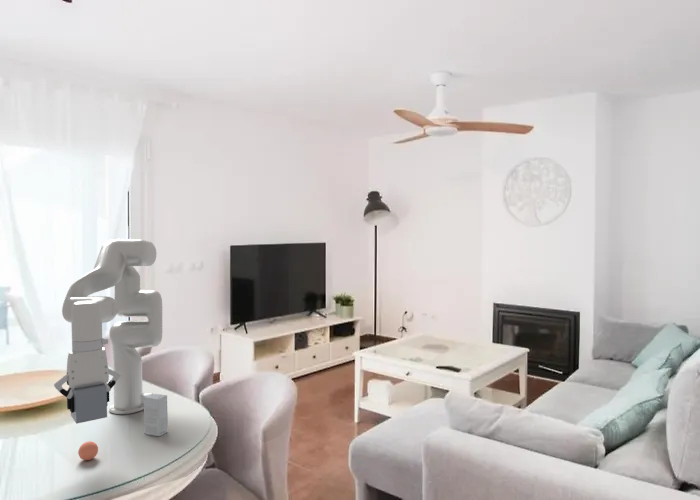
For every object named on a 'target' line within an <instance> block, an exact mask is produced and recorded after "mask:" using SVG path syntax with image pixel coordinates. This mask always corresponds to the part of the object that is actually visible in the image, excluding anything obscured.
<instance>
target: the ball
mask: <svg viewBox="0 0 700 500" xmlns="http://www.w3.org/2000/svg"><path fill="white" fill-rule="evenodd" d="M77 451H78V453H77V454H78V457H79V458H80V459H81V460H84V461H90V460H93V459H94V458H96V457H97V455H98V453H99V446H98V444H97V443H96V442H94V441H92V440H91V441H90V440H89V441H85V442H83V443H82V444H81V445H80V447H79V448H78V450H77Z"/></svg>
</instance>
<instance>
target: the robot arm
mask: <svg viewBox="0 0 700 500" xmlns="http://www.w3.org/2000/svg"><path fill="white" fill-rule="evenodd" d="M156 259H157V249H156V246H155V244H154V243H153V242H151V241H147V240H145V239H135V238H134V239H133V238H132V239H131V238H129V239H127V238H126V239H124V238H122V239H120V238H117V239H109V240H107V241H105V242H103V244H102V245H101V248H100V249H99V253H98V256H97V259H96V261H95V264H94V266H93V270H91V271H89V272H87V273H85V274H84V275H82V276H81V277H80V278H79V279H77V280H75V281H74V282H73V283H72V284H71V285H70V287H69V289H68V291H67V293H66V295H65V298H64V301H63V304H62V307H61V315H62V317H63V319H64V320H65V321H66V322H68V323H70V324H71V350H70V351H69V352H68V354H67V358H66V359H67V361H66V374H65V375H64V376H62V377H61V378H60V379H59V380H58V381H56V382H55V383H54V384H53V387H54V388H55V389H56V390H57V392H58V393H60V394H61V395H63V396H64V397H66V407H67V410H69V411H70V414H71V413H74V398H73V394H74V389H79V388H85V387H90V386H96V385H102V384H105V385H106V386H107V406H108V405H109V404H108V403H109V402H110V391H111V390H112V389H113V403H112V404H110V406H109V407H108V411H109V412H110V413H112V414H114V415H128V414H134V413H138V412H140V411H144V397H145V396H148V395H150V394H151V393H150V392H149V393H144V392H143V360H142V356H141V354H140V352H139V351H138V350H137V348H154V347H158V346H159V345H161V342H162V341H163V299H162V296H161V293H160V292H159V291H157V290H155V289H154V290H153V289H148V290H147V289H146V290H145V289H141V275H140V273H139V272H138V271H137V268H135V267H151V266H153V265H154V264H155V263H156ZM113 287H114V297H111V296H102V295H101V296H91V295H93V294H95V293H99V292H101V291H104V290H107V289H110V288H113ZM116 316H119V317H121V318H122V317H123V318H139V317H140V318H143V317H144V318H145V317H146V318H147V319H148V320H146V319H145V320H122V321H121V320H120V321H117V322H115V323H114V324H112V325H111V327H110V329H109V339H108V338H103V323H109V322H111V321H113V320H114V319H115V317H116ZM109 341H110V345H111V351H112V369H111V368H109V364H108V363H109V362H108V357H107V352H106V351H107V350H106V348H105V347H104V345H108V344H109ZM110 376H112V378H111V379H110V380H109V378H110ZM65 383H66V385H68V386H69V387H68V388H67V390H66V389H65V388H64V387H63V385H65Z"/></svg>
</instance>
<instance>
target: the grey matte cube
mask: <svg viewBox="0 0 700 500" xmlns="http://www.w3.org/2000/svg"><path fill="white" fill-rule="evenodd" d="M73 398H74V413H71V412H70V416H71V418H72V419H73V422H74V423H75V424H81V423H86V422H91V421H96V420H101V419H105V418H108V405H107V404H108V402H107V386H106V385H105V384H102V385H96V386H90V387H85V388H79V389H74V394H73Z"/></svg>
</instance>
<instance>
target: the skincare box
mask: <svg viewBox="0 0 700 500" xmlns="http://www.w3.org/2000/svg"><path fill="white" fill-rule="evenodd" d="M143 416H144V417H143V419H144V421H143V423H144V424H143V425H144V429H143V431H144V435H147V436H156V437H161V436H163V435H165V434H166V433H168V431H169V425H168V424H169V423H168V422H169V421H168V420H169V419H168V418H169V417H168V395H167V394H159V393H153V392H152V393H150V395H148V396H145V397H144V409H143Z"/></svg>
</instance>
